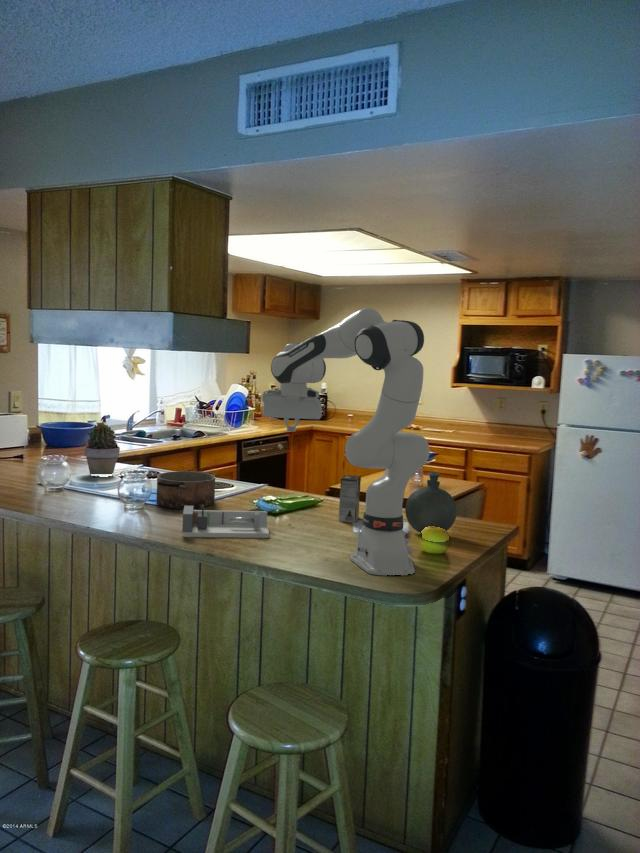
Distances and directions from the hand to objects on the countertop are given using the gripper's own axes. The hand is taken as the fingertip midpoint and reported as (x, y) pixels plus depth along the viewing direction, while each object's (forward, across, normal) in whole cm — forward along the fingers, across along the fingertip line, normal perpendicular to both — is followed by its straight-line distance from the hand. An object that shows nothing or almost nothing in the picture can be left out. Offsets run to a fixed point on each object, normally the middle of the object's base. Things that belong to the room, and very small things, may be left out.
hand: (291, 431), depth 236 cm
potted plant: (+34, -76, +91) cm, 123 cm away
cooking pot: (+35, -36, +38) cm, 62 cm away
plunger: (+32, -15, -6) cm, 36 cm away
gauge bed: (+34, -21, -6) cm, 40 cm away
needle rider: (+32, -29, -6) cm, 44 cm away
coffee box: (+34, +25, +15) cm, 45 cm away
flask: (+34, +50, -5) cm, 61 cm away
